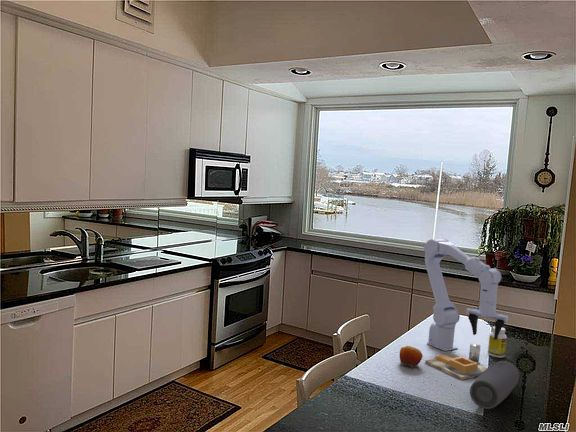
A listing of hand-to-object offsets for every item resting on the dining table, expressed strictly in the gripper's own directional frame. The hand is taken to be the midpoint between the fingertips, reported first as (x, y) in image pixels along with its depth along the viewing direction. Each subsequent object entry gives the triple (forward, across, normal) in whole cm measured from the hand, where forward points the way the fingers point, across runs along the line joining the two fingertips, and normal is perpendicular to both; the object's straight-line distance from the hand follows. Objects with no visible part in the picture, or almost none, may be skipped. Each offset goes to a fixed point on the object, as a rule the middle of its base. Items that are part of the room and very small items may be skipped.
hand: (485, 336), depth 178 cm
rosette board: (+10, -5, -13) cm, 17 cm away
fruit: (+10, -19, -24) cm, 32 cm away
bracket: (+9, -6, -14) cm, 17 cm away
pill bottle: (+10, +2, +12) cm, 16 cm away
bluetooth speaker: (+11, +12, -31) cm, 34 cm away
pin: (+10, -3, -1) cm, 10 cm away
